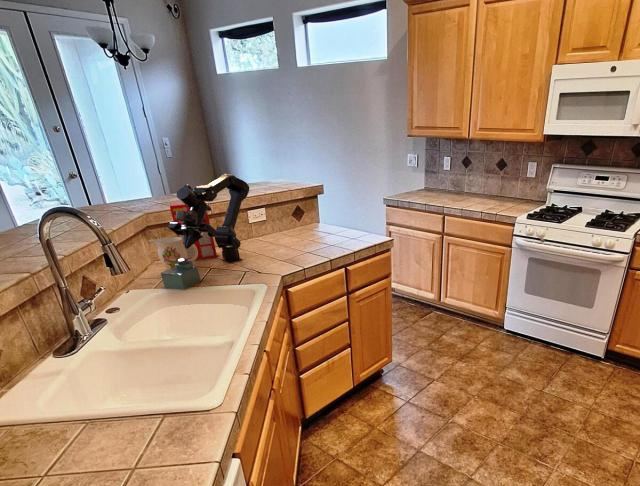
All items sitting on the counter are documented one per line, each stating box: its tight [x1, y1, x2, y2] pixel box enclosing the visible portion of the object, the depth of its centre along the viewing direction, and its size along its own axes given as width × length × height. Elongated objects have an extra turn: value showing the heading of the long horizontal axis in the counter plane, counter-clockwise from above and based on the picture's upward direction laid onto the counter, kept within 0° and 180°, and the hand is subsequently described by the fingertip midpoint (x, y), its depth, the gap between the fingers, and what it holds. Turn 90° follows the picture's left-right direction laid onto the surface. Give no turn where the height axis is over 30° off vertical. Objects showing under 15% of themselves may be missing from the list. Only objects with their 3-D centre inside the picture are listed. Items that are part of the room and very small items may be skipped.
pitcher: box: [147, 236, 198, 271], centre depth 186 cm, size 11×18×14 cm, turn 113°
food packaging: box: [169, 201, 218, 261], centre depth 199 cm, size 15×5×25 cm, turn 115°
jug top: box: [160, 261, 201, 291], centre depth 170 cm, size 11×9×8 cm
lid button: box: [178, 258, 189, 265], centre depth 170 cm, size 4×4×2 cm
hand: (186, 248), depth 171 cm, fingers closed
